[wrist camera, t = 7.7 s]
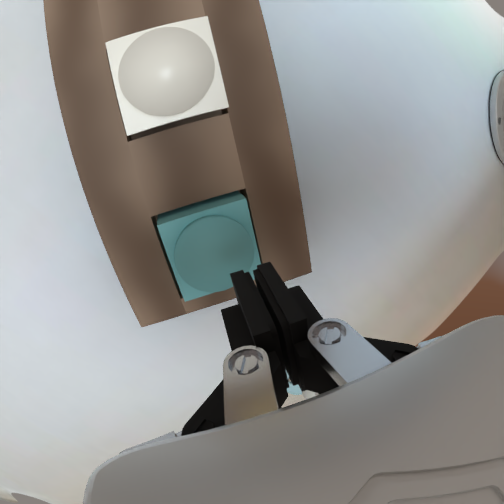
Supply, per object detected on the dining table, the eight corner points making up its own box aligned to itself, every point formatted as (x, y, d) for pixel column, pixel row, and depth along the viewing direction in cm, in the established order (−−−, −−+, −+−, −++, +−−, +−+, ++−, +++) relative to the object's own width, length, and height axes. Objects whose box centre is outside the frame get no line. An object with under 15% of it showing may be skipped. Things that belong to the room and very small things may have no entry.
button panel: (217, -85, 11) (225, -106, 9) (295, 254, 24) (311, 272, 21) (53, -45, 10) (42, -62, 7) (143, 303, 22) (141, 327, 19)
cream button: (200, 32, 14) (209, 12, 11) (218, 110, 16) (231, 106, 13) (114, 55, 13) (103, 39, 10) (133, 134, 16) (125, 136, 12)
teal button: (234, 187, 19) (248, 200, 16) (250, 256, 22) (266, 281, 19) (157, 210, 19) (156, 228, 16) (181, 278, 21) (185, 307, 18)
